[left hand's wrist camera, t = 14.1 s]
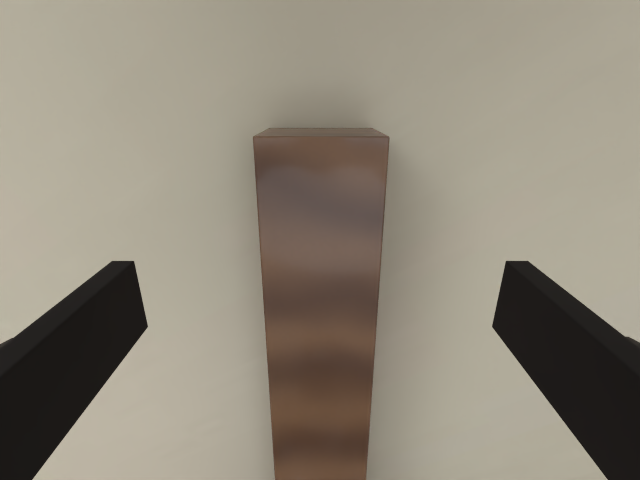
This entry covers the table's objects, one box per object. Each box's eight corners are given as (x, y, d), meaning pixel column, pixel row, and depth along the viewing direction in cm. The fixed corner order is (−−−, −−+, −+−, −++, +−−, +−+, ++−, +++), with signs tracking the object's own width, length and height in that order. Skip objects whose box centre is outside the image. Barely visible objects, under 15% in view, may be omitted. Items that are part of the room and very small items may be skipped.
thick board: (268, 128, 30) (252, 136, 23) (373, 128, 30) (389, 136, 23) (288, 537, 50) (283, 610, 43) (351, 537, 50) (356, 610, 43)
